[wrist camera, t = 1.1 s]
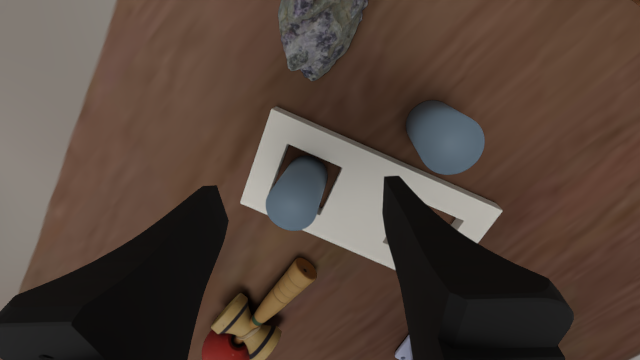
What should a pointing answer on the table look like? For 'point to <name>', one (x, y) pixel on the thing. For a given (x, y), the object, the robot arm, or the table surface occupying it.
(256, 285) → the table surface
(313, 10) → the mineral rock
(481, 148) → the loose pin
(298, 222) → the pin
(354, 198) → the pin board
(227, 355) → the kendama
